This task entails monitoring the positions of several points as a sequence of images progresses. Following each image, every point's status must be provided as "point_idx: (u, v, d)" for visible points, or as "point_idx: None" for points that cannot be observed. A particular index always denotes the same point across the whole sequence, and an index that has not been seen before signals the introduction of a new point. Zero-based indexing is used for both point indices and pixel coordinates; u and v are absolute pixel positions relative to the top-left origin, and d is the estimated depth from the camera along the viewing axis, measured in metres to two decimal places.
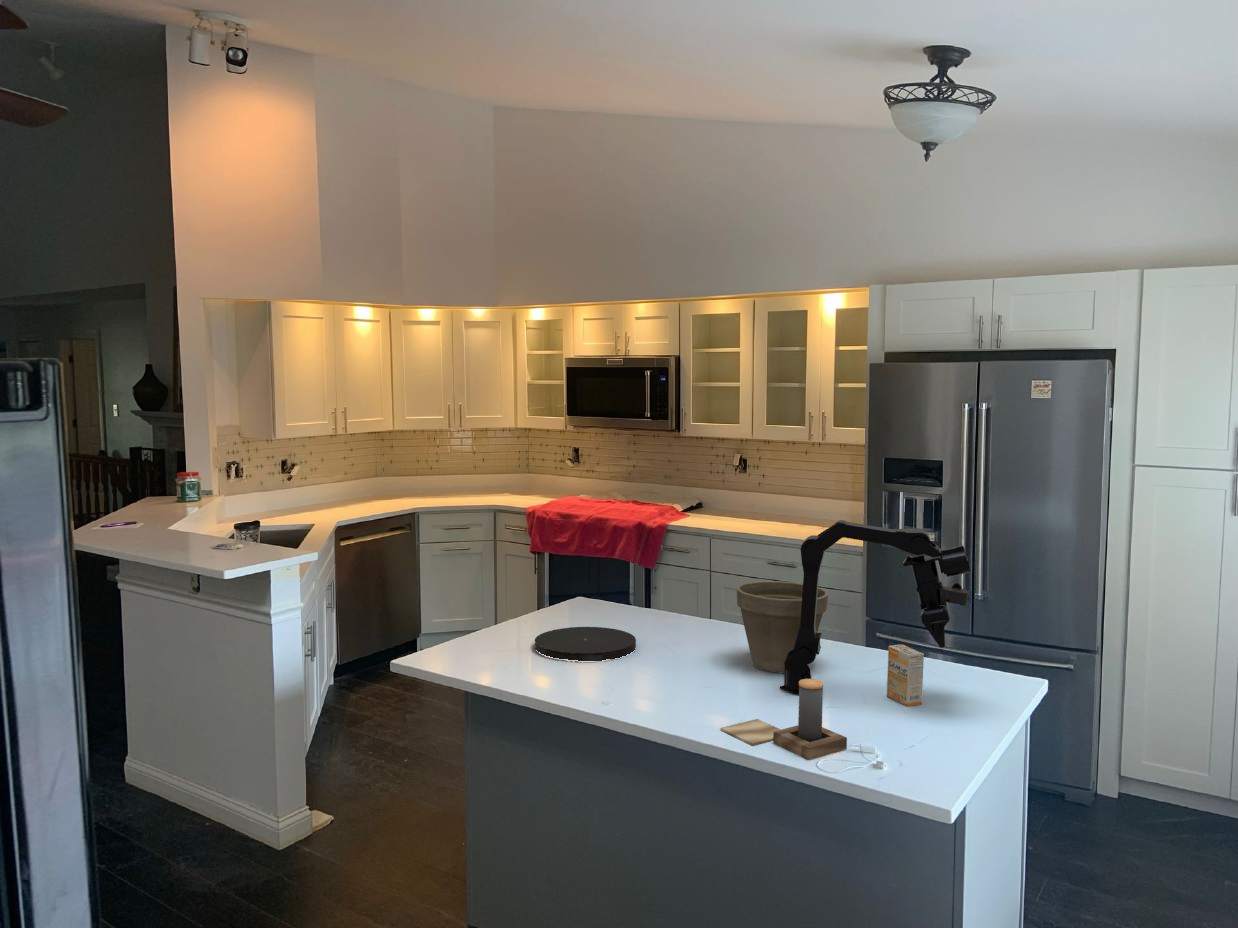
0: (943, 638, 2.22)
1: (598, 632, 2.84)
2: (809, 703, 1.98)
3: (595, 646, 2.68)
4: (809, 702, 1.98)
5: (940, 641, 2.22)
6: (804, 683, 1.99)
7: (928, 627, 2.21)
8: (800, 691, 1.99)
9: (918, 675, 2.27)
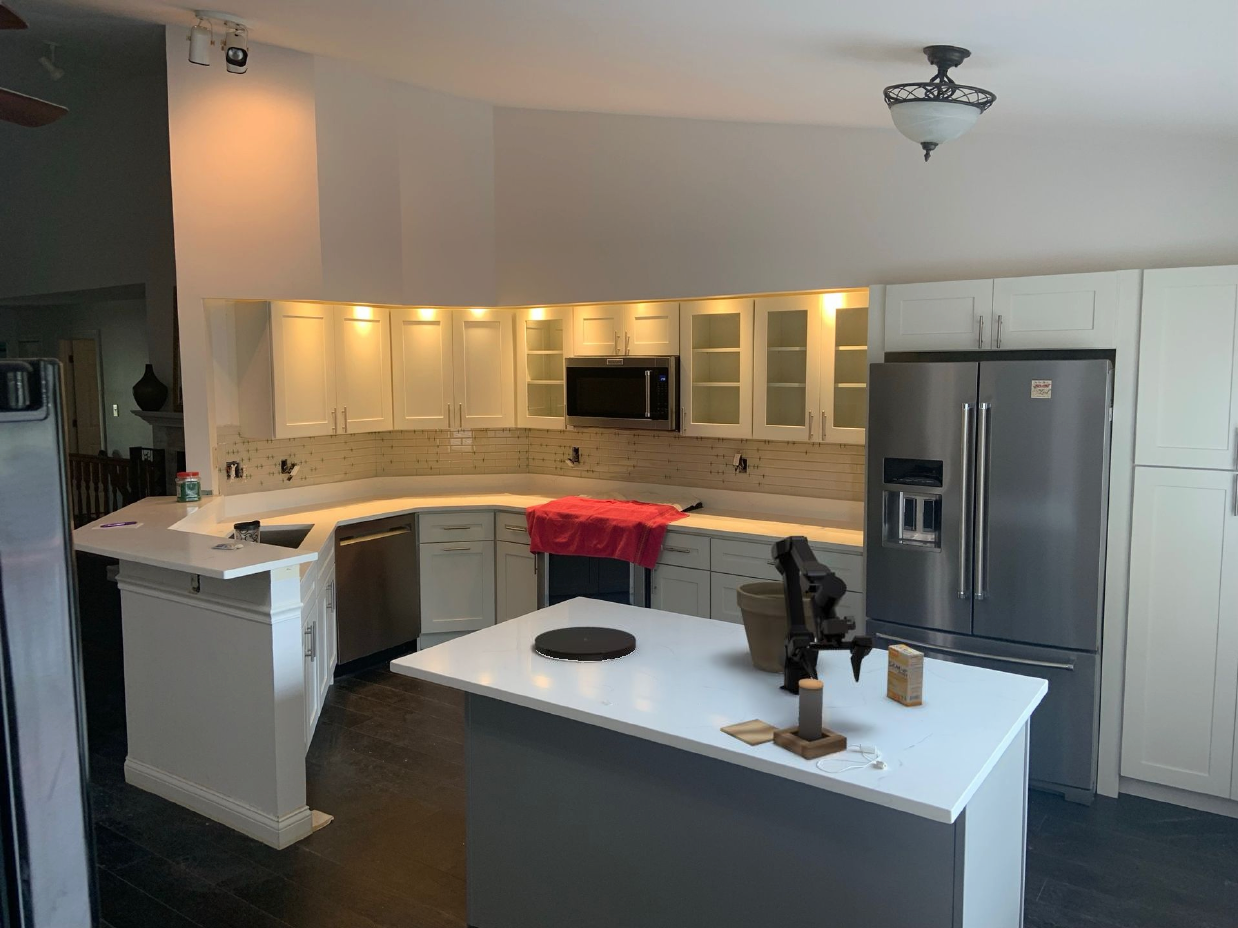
0: (812, 671, 2.07)
1: (598, 632, 2.84)
2: (809, 703, 1.98)
3: (595, 646, 2.68)
4: (809, 702, 1.98)
5: (812, 675, 2.08)
6: (804, 683, 1.99)
7: (802, 662, 2.11)
8: (800, 691, 1.99)
9: (918, 675, 2.27)
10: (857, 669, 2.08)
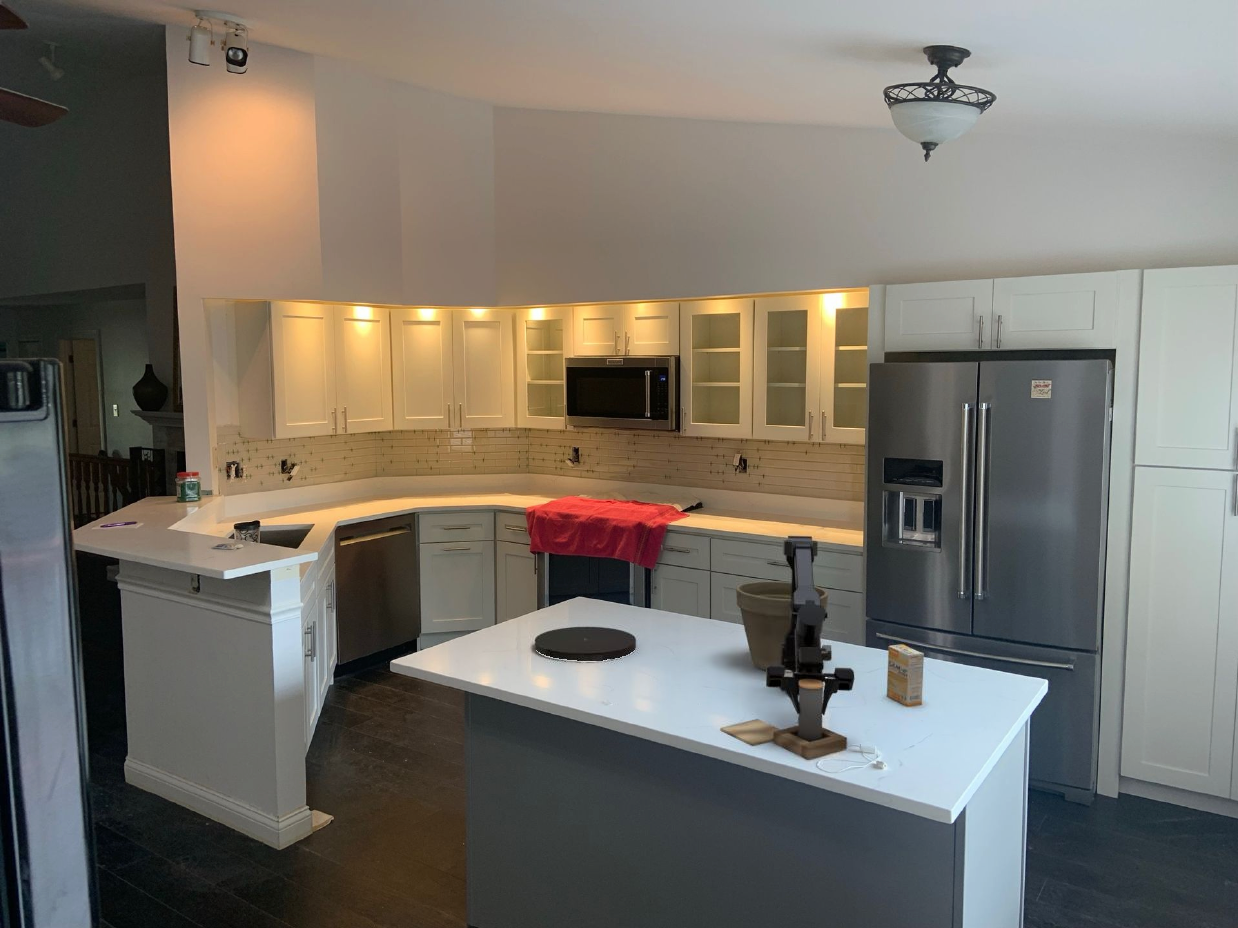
0: (794, 701, 2.01)
1: (598, 632, 2.84)
2: (809, 703, 1.98)
3: (595, 646, 2.68)
4: (809, 702, 1.98)
5: (794, 706, 2.01)
6: (804, 683, 1.99)
7: (788, 692, 2.05)
8: (800, 691, 1.99)
9: (918, 675, 2.27)
10: (824, 701, 2.00)
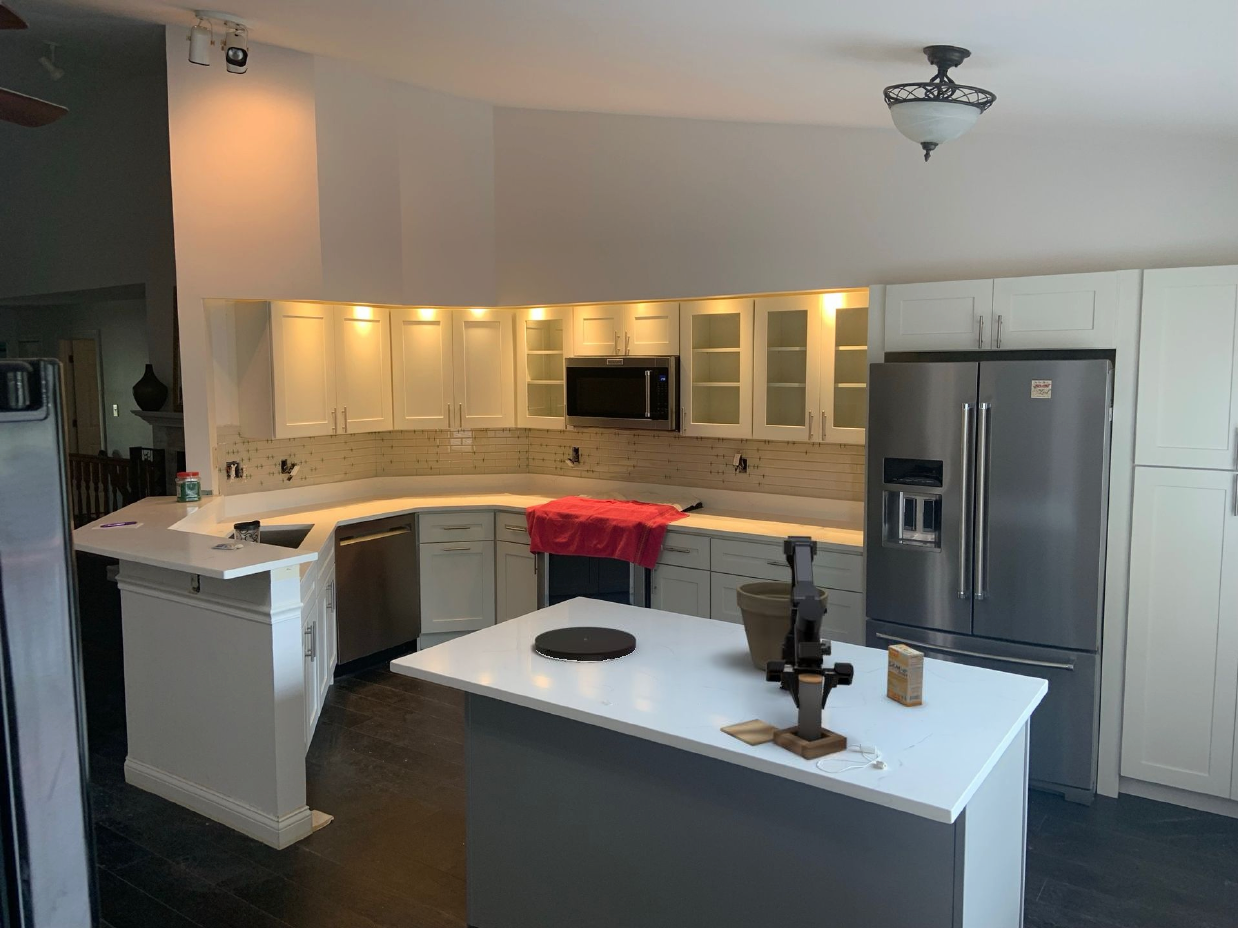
0: (793, 696, 2.01)
1: (598, 632, 2.84)
2: (809, 697, 1.99)
3: (595, 646, 2.68)
4: (809, 696, 1.99)
5: (794, 700, 2.02)
6: (804, 677, 2.00)
7: (787, 687, 2.06)
8: (800, 685, 2.00)
9: (918, 675, 2.27)
10: (824, 696, 2.00)
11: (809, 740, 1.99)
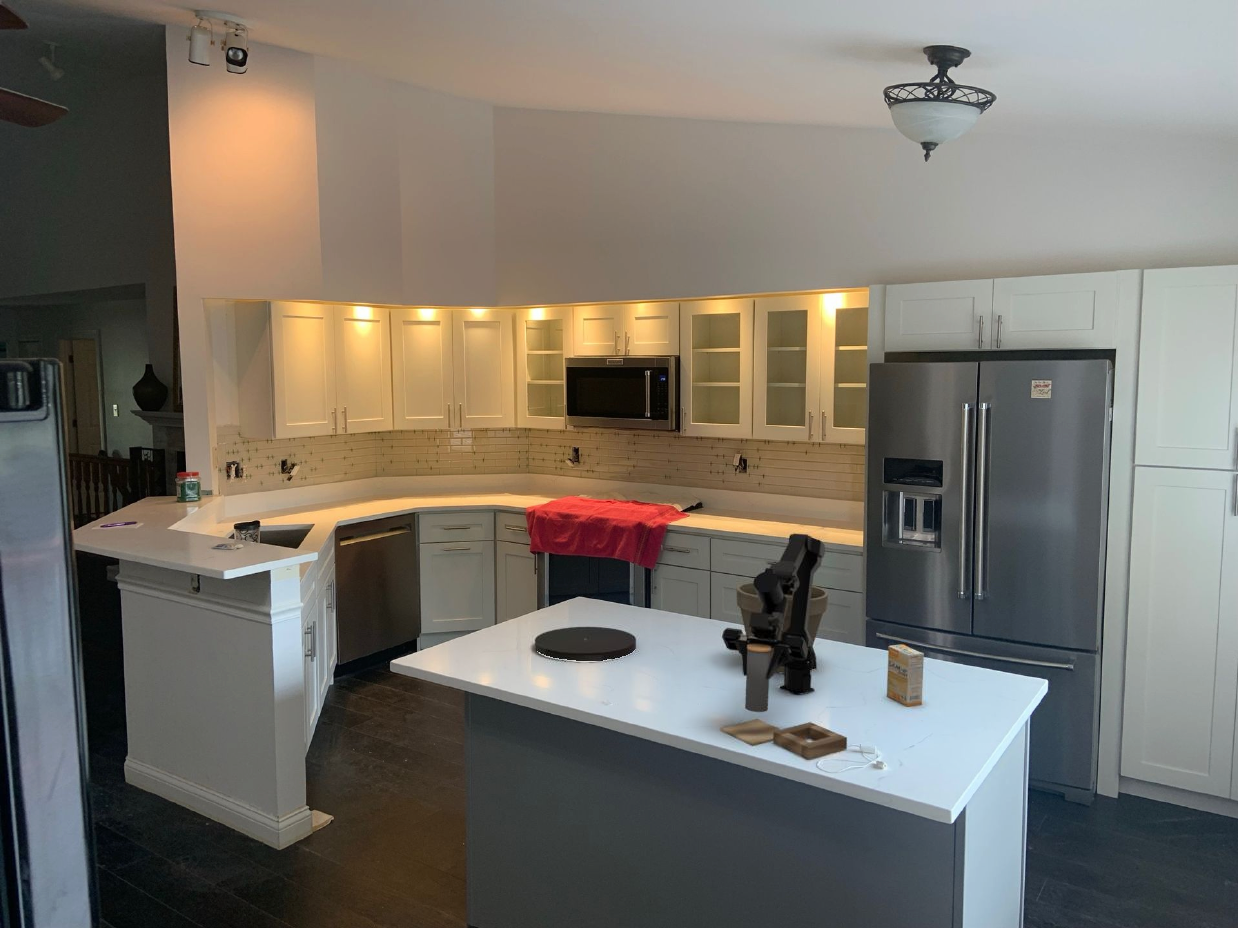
0: None
1: (598, 632, 2.84)
2: (753, 665, 2.05)
3: (595, 646, 2.68)
4: (753, 664, 2.05)
5: None
6: (751, 646, 2.07)
7: None
8: (747, 653, 2.07)
9: (918, 675, 2.27)
10: (770, 666, 2.05)
11: (752, 707, 2.05)
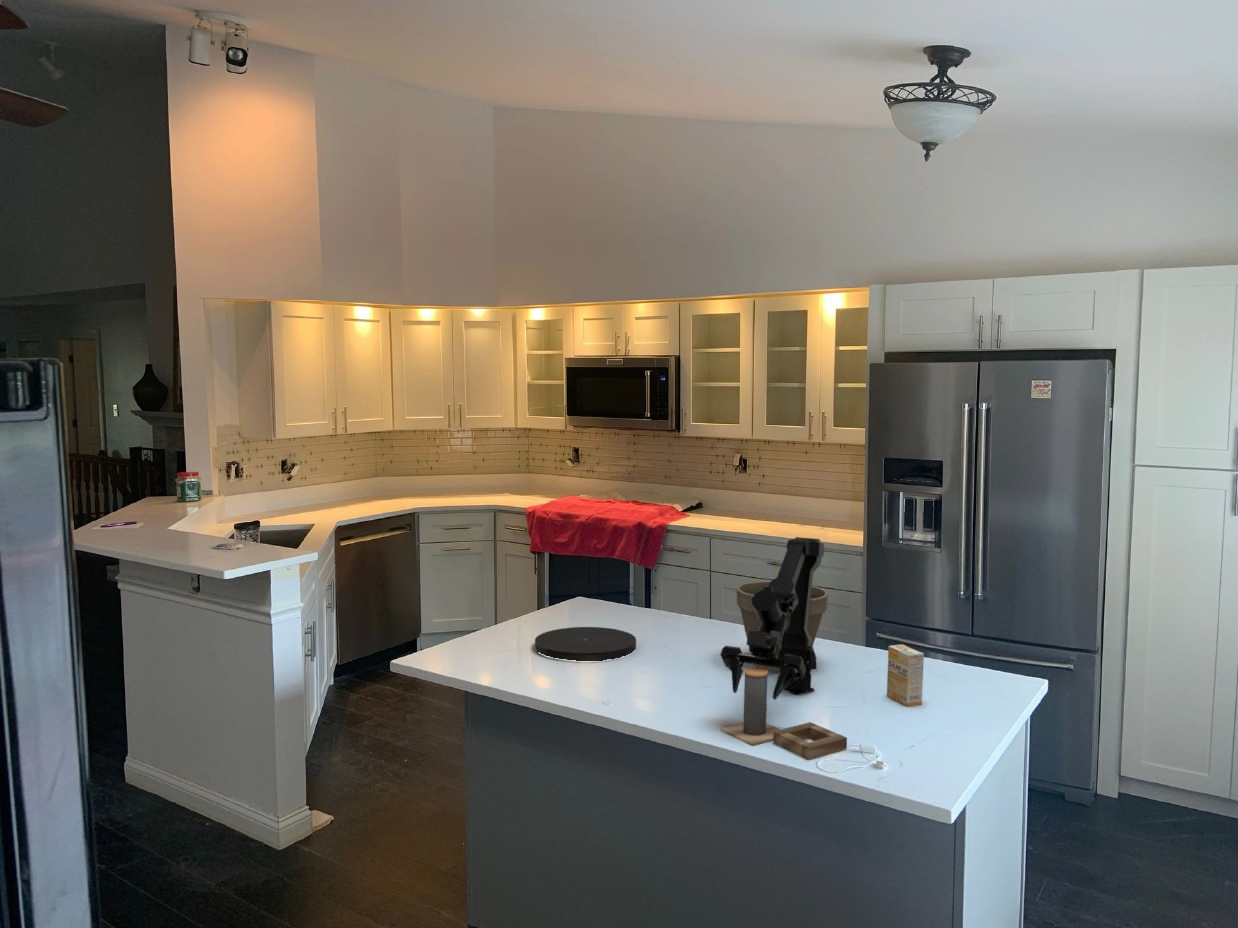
0: (732, 680, 2.10)
1: (598, 632, 2.84)
2: (750, 690, 2.05)
3: (595, 646, 2.68)
4: (750, 689, 2.05)
5: None
6: (748, 670, 2.06)
7: None
8: None
9: (918, 675, 2.27)
10: (776, 686, 2.05)
11: (750, 731, 2.06)
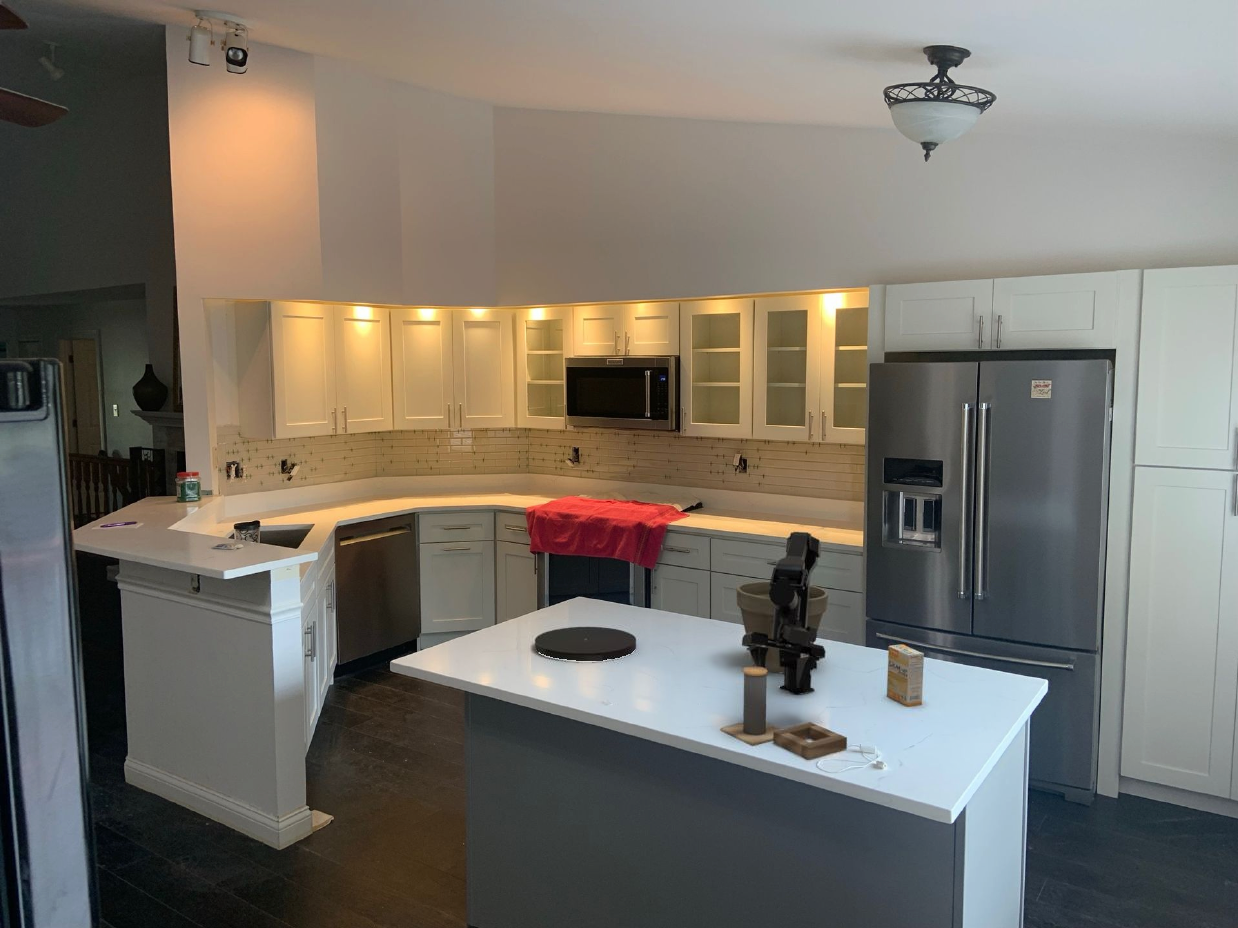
0: None
1: (598, 632, 2.84)
2: (749, 689, 2.05)
3: (595, 646, 2.68)
4: (749, 688, 2.05)
5: None
6: (747, 669, 2.07)
7: (753, 654, 2.14)
8: (744, 677, 2.07)
9: (918, 675, 2.27)
10: (802, 676, 2.12)
11: (750, 730, 2.06)
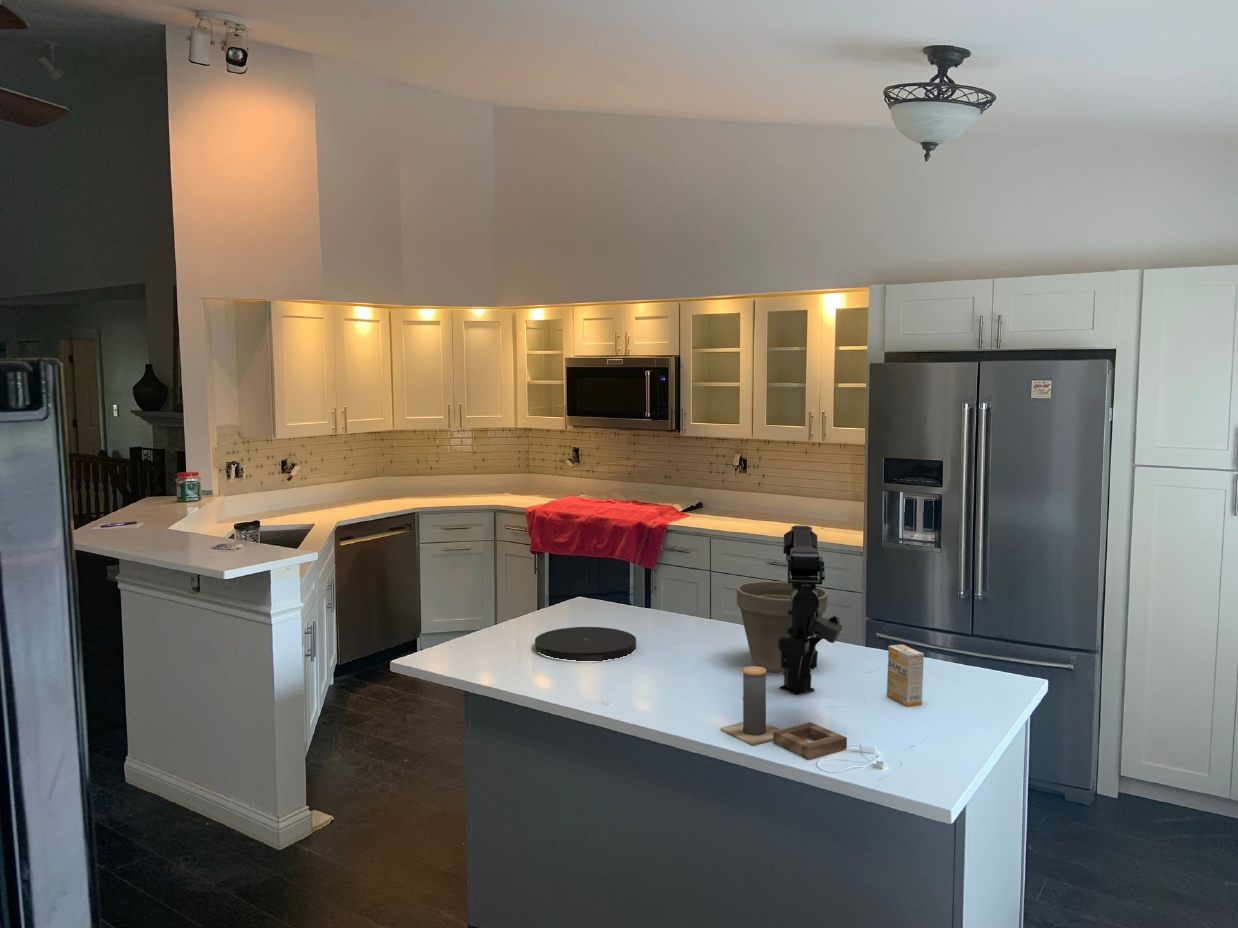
0: (798, 669, 2.08)
1: (598, 632, 2.84)
2: (748, 689, 2.05)
3: (595, 646, 2.68)
4: (748, 687, 2.05)
5: (794, 671, 2.09)
6: (746, 669, 2.07)
7: (785, 653, 2.08)
8: (743, 676, 2.08)
9: (918, 675, 2.27)
10: (811, 657, 2.17)
11: (749, 730, 2.06)
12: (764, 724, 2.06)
